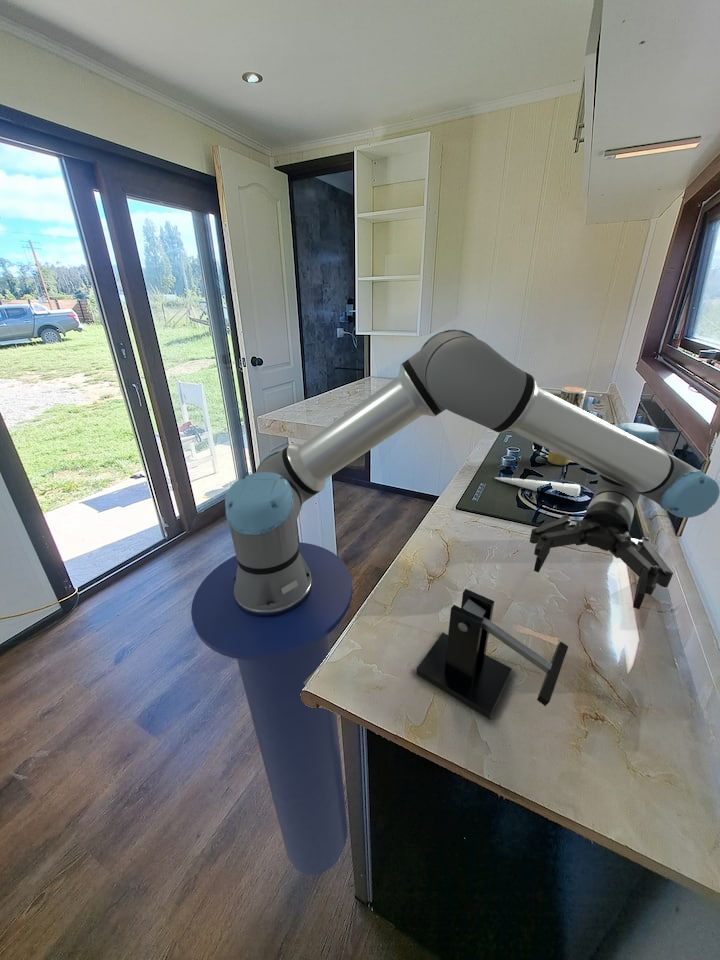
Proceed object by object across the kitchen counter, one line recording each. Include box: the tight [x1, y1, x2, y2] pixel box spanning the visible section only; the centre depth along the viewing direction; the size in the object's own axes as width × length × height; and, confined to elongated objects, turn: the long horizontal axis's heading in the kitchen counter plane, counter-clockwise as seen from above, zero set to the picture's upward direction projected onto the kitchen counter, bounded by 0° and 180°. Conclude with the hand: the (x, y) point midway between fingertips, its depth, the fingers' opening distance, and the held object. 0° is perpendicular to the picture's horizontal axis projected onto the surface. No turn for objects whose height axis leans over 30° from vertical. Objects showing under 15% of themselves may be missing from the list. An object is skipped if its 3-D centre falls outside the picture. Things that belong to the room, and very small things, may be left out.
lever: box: [462, 599, 569, 707], centre depth 53 cm, size 14×10×2 cm
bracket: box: [415, 588, 513, 720], centre depth 58 cm, size 12×9×15 cm
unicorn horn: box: [494, 477, 581, 497], centre depth 113 cm, size 5×24×5 cm, turn 48°
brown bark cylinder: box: [547, 386, 587, 466], centre depth 125 cm, size 7×7×25 cm
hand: (584, 582), depth 58 cm, fingers open, 13 cm apart
